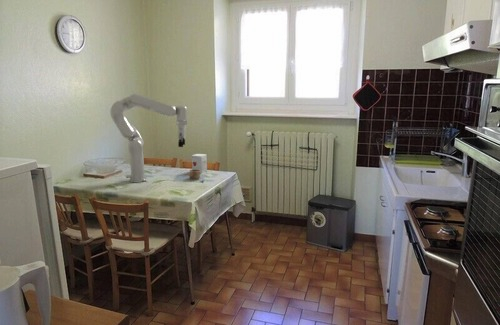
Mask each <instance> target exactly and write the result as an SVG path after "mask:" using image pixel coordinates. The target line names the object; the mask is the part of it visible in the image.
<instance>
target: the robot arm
mask: <svg viewBox="0 0 500 325" xmlns="http://www.w3.org/2000/svg"><path fill="white" fill-rule="evenodd" d="M136 107H138V108H141V109H143V110H144V109H145V110H149V111H151V112H155V113H157V114H161V115H164V116H167V117H174V116H176V126H177V138H178V143H177V145H178V148H183V147H184V146H185V145H186V138H187V126H188V108H187V106H186V105H172V104H171V105H169V104H167V103H163V102H160V101H158V100H156V99H154V98H152V97H151V98H150V97H148V96H145V95H141V94H139V93H137V92H136V93H132V94H130V95H129V96H127V97H124V98H123V99H120V100H116V101H115V102H114V103H113V104H112V106H111V108H110V117H111V119H112V121H113V123H114V124H115V125H116V126H115V127H116V128H117V129H118V131H119V132H120V134H121V135H122V137H123V138H124V139H126V140H127V141H128V142H129V143H128V153H129V154H128V155H129V163H130V164H129V165H130V174H125V178H126V179H129V182H131V183H142V182H146V180H148V178H147V176H146V174H145V172H146V171H145V159H144V148H143V147H144V145H145V141H144V139H143V138H142V136H141V134H140V133H139V131H138V128H136V127H135V125H133V124H131V123H130V122H129V121H128V119H127V117H126V116H125V114H124V113H125V112H126V111H129V110H131V109H133V108H136Z"/></svg>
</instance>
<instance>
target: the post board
mask: <svg viewBox="0 0 500 325" xmlns="http://www.w3.org/2000/svg"><path fill="white" fill-rule="evenodd" d="M205 176H206V174H200V178H199V180H190V179H189V174H176V175H175V177H174V179H173V180H172V182H200V183H204V182H205V178H206V177H205Z"/></svg>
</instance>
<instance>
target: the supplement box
mask: <svg viewBox="0 0 500 325" xmlns="http://www.w3.org/2000/svg"><path fill="white" fill-rule="evenodd" d="M207 155H208V154H205V153H196V154H192V155H191V165H192V166H191V167H192V168H191V170H194V169H200V174H203V173H208V164H207V163H208V160H207Z"/></svg>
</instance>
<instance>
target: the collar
mask: <svg viewBox="0 0 500 325" xmlns="http://www.w3.org/2000/svg"><path fill="white" fill-rule="evenodd" d="M188 173H189V174H188V175H189V179H190V180H199V178H200V175H201V173H200V169H194V170H192V169H189V171H188Z"/></svg>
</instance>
